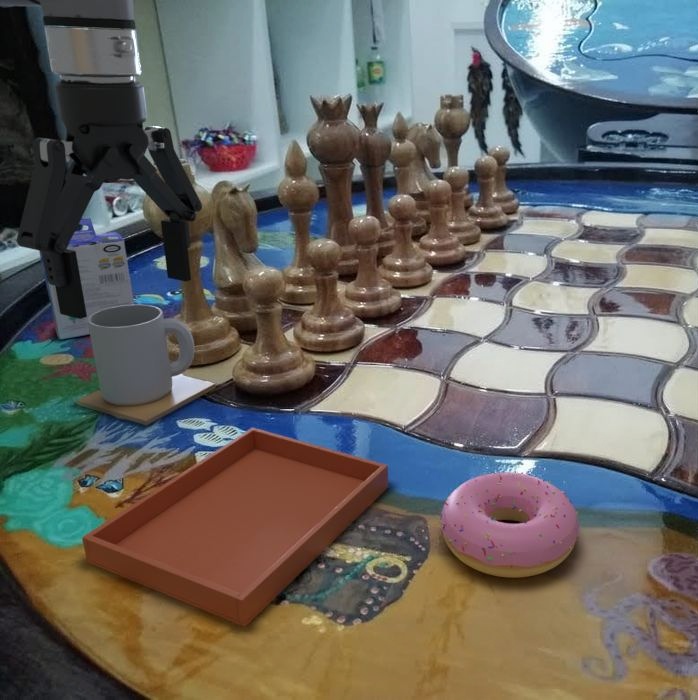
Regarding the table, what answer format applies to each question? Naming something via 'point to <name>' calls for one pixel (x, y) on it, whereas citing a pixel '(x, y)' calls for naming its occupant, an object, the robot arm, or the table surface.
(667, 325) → the table surface
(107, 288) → the ink cartridge box
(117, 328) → the cup
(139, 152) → the robot arm
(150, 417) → the cork mat
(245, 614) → the tray
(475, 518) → the doughnut
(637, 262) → the table surface
